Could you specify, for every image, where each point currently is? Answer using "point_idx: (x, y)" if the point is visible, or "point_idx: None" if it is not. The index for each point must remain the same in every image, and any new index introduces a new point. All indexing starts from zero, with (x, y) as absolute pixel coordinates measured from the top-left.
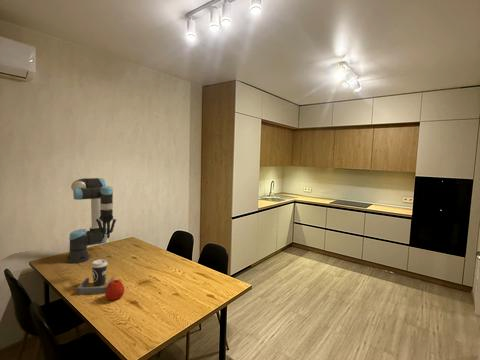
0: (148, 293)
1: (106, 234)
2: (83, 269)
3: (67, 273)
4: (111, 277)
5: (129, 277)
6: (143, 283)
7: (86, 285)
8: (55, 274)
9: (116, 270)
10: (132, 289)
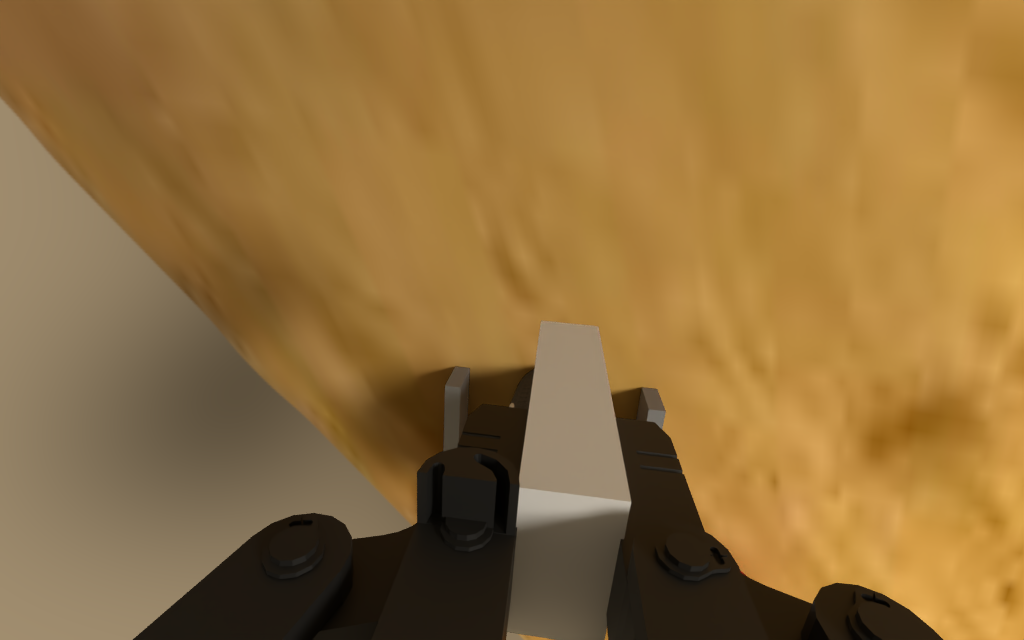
0: (923, 587)
1: (585, 624)
2: (307, 69)
3: (215, 155)
4: (647, 414)
5: (786, 321)
6: (904, 449)
7: (467, 408)
8: (132, 165)
9: (644, 136)
10: (810, 518)
